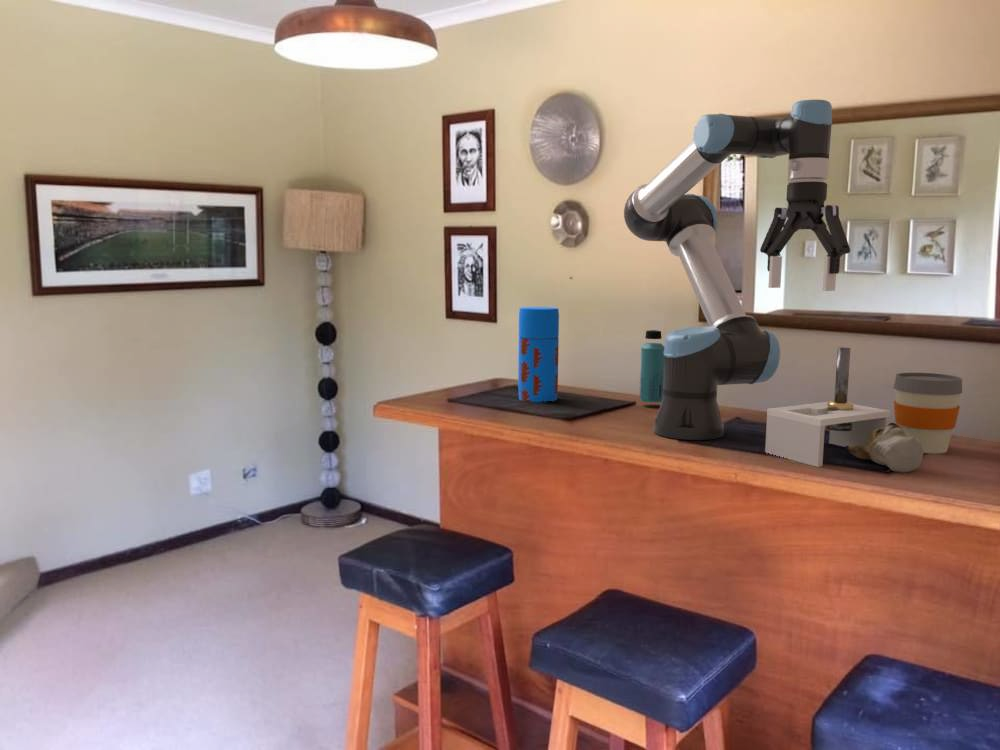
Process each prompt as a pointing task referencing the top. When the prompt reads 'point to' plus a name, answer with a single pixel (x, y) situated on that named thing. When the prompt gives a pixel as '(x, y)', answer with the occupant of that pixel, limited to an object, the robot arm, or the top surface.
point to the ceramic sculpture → (891, 449)
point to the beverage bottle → (652, 369)
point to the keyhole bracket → (818, 429)
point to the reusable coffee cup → (927, 408)
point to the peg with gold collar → (841, 388)
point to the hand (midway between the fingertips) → (800, 289)
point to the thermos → (538, 354)
